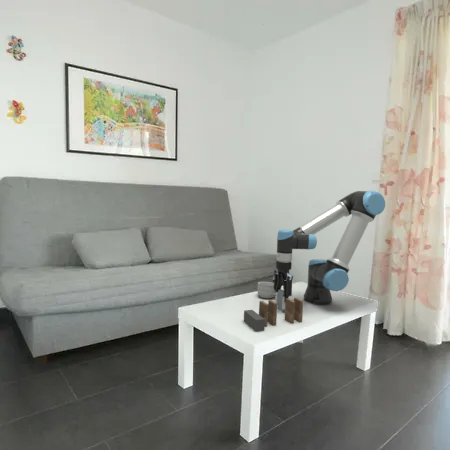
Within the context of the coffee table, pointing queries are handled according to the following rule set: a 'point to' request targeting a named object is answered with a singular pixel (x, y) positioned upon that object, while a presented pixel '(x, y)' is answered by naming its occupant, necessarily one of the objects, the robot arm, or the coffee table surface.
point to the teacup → (266, 289)
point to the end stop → (254, 320)
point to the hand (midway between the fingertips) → (281, 306)
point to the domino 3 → (280, 300)
